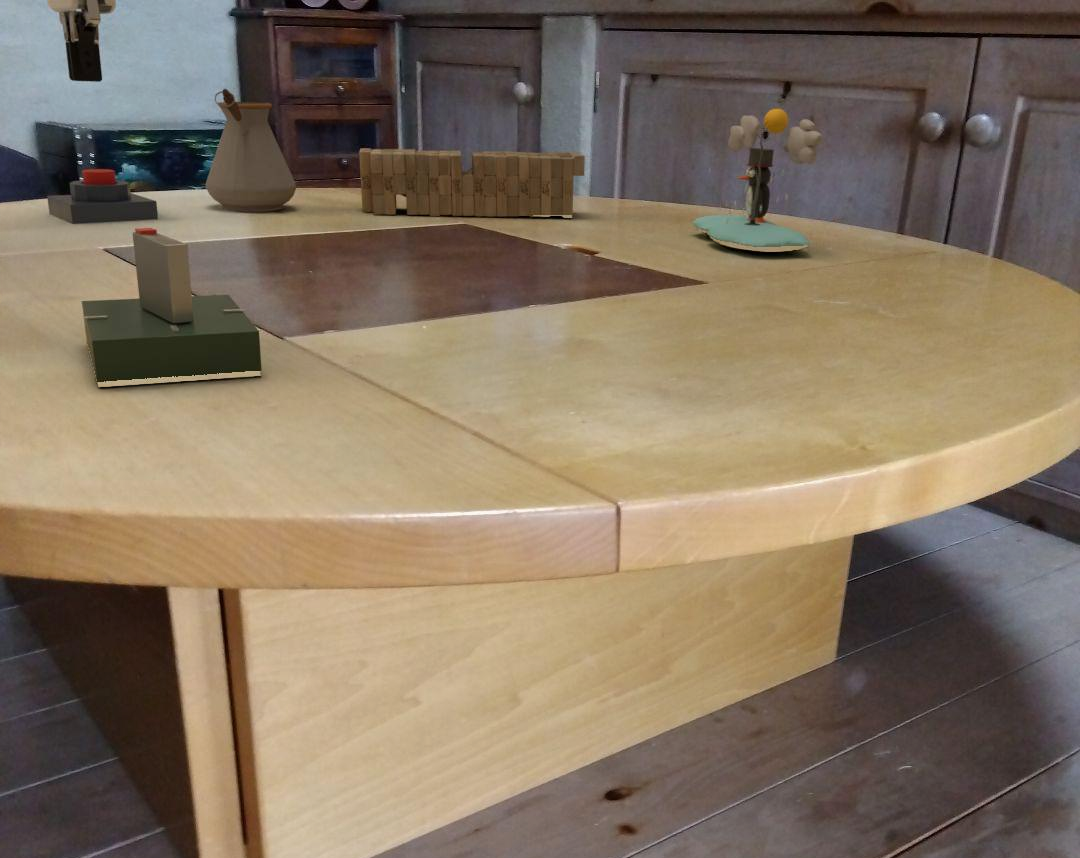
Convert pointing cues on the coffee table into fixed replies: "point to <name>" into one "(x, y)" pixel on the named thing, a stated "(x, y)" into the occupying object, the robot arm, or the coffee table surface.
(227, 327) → the block
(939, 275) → the coffee table surface
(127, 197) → the button block
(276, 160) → the coffee pot
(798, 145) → the penguin figurine
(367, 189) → the block tower
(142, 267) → the upright beige tablet
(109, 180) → the release button
